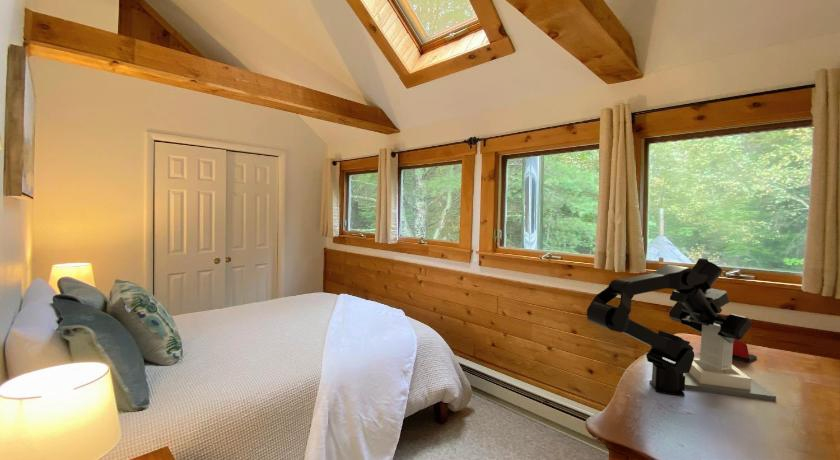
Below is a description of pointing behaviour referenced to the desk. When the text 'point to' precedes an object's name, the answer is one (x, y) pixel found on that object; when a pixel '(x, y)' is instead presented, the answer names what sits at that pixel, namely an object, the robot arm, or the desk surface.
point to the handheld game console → (742, 352)
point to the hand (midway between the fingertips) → (720, 338)
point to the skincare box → (715, 348)
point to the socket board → (724, 382)
